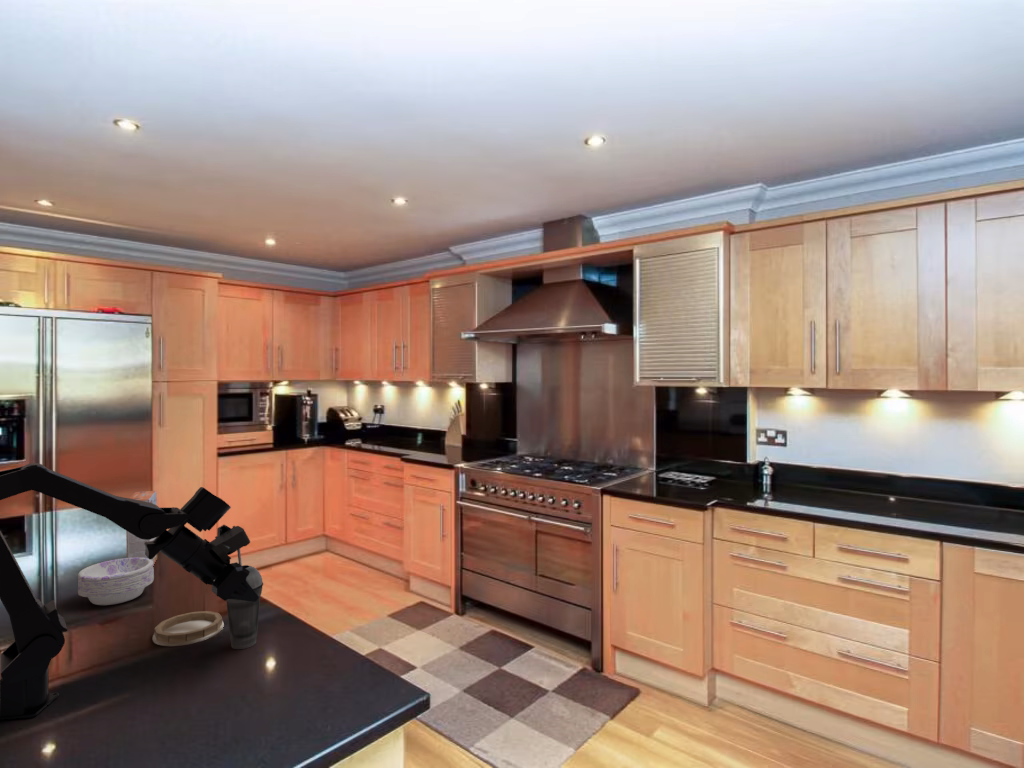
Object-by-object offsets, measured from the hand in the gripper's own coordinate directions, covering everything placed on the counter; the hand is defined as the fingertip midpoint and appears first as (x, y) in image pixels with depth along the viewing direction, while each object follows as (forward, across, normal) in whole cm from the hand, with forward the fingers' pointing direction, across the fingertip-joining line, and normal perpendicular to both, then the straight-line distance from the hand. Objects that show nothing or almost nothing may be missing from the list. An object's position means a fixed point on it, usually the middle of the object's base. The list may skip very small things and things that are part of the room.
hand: (250, 594), depth 114 cm
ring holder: (+1, +14, +12) cm, 19 cm away
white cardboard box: (+2, +71, +12) cm, 72 cm away
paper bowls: (-4, +48, +18) cm, 51 cm away
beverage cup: (+6, 0, +8) cm, 10 cm away
